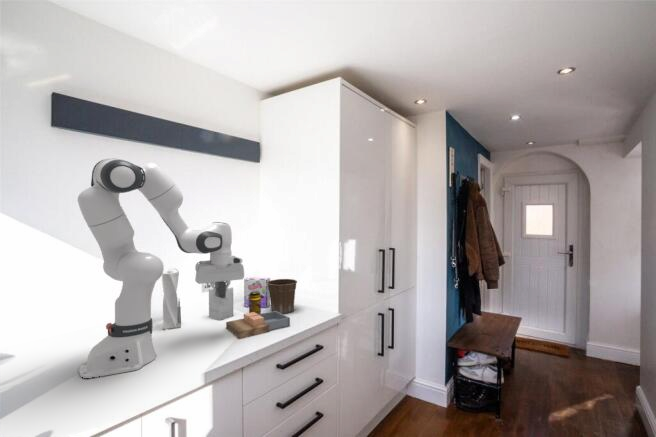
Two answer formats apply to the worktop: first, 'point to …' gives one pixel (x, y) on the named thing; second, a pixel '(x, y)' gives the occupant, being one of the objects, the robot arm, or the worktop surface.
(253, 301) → the condiment
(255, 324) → the tile
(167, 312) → the skyscraper
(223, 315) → the supplement box
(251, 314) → the tile
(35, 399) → the worktop surface
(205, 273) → the robot arm
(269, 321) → the tray
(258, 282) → the candy box
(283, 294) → the plant pot
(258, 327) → the board
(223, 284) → the scraper
